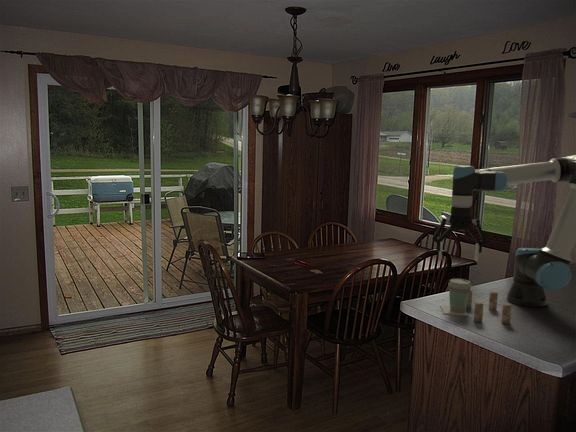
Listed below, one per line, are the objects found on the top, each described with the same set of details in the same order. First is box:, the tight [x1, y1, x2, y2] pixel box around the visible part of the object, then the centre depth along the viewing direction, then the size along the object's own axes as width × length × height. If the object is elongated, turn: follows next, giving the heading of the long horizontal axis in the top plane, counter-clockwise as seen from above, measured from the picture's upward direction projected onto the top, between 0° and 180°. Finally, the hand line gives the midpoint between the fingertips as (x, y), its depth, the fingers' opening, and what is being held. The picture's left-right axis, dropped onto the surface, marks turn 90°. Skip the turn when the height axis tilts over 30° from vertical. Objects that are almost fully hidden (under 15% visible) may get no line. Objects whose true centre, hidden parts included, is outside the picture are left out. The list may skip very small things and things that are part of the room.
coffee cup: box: [447, 278, 472, 313], centre depth 189 cm, size 8×9×12 cm
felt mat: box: [439, 305, 469, 317], centre depth 190 cm, size 9×9×1 cm
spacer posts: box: [466, 289, 512, 325], centre depth 186 cm, size 14×20×7 cm
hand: (458, 260), depth 187 cm, fingers open, 13 cm apart
